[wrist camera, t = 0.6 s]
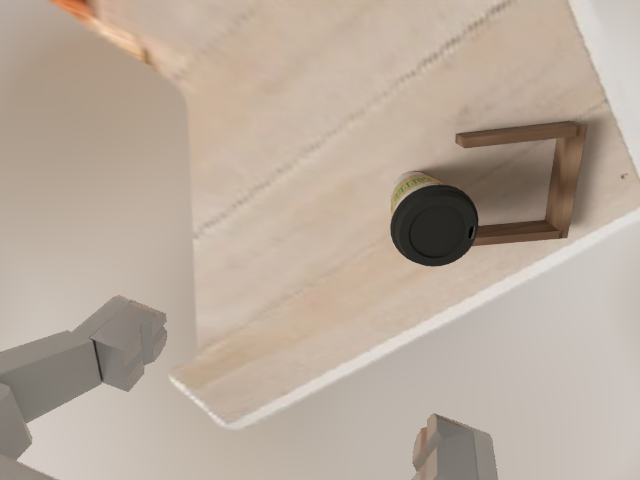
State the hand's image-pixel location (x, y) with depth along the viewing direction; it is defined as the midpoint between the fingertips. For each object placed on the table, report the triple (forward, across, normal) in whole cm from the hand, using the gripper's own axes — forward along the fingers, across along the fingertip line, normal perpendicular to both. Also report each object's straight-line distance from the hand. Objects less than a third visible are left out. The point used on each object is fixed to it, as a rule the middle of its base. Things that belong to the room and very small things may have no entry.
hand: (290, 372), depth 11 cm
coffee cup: (+45, -5, +12) cm, 47 cm away
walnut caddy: (+48, -17, +7) cm, 51 cm away
